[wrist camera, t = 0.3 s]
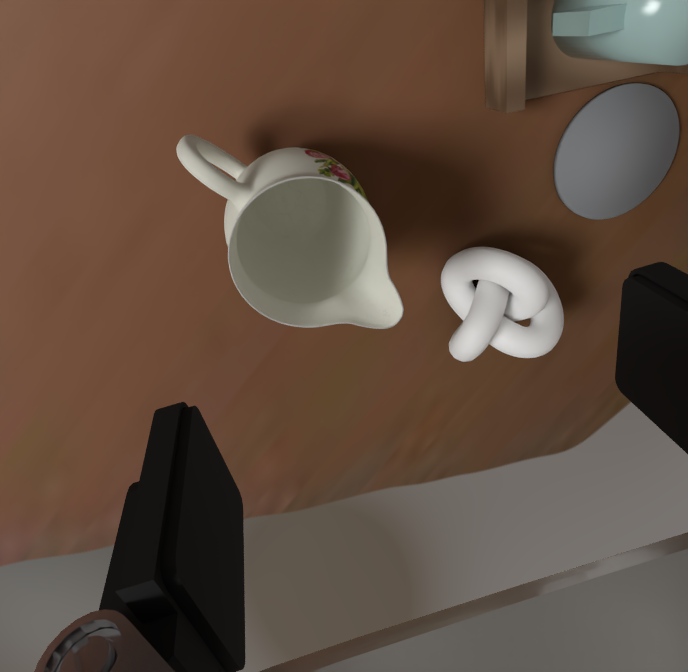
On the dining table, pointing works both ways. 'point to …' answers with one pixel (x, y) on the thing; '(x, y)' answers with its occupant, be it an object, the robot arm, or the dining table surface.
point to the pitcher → (300, 236)
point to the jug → (622, 30)
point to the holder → (539, 57)
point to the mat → (616, 150)
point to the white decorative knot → (500, 304)
